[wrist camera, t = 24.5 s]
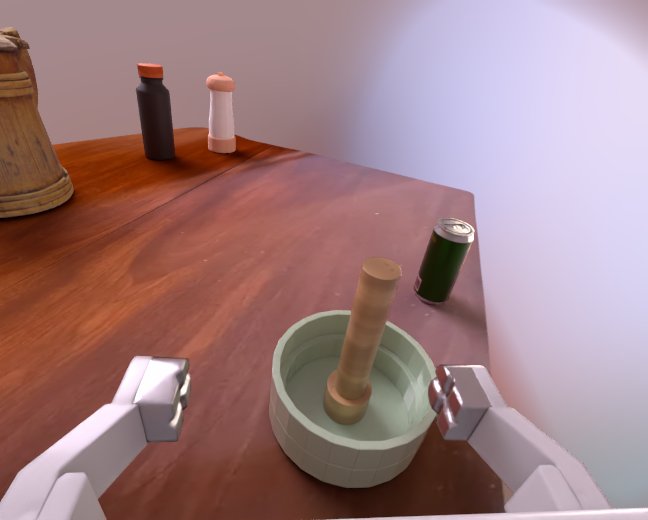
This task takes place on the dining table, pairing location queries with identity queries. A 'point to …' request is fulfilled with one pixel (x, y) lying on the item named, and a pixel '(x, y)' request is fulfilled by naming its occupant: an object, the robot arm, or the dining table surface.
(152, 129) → the bottle
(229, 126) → the pepper shaker
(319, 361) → the bowl
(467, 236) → the beer can
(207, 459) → the dining table surface
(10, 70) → the tankard
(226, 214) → the dining table surface
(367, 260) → the wooden pestle
